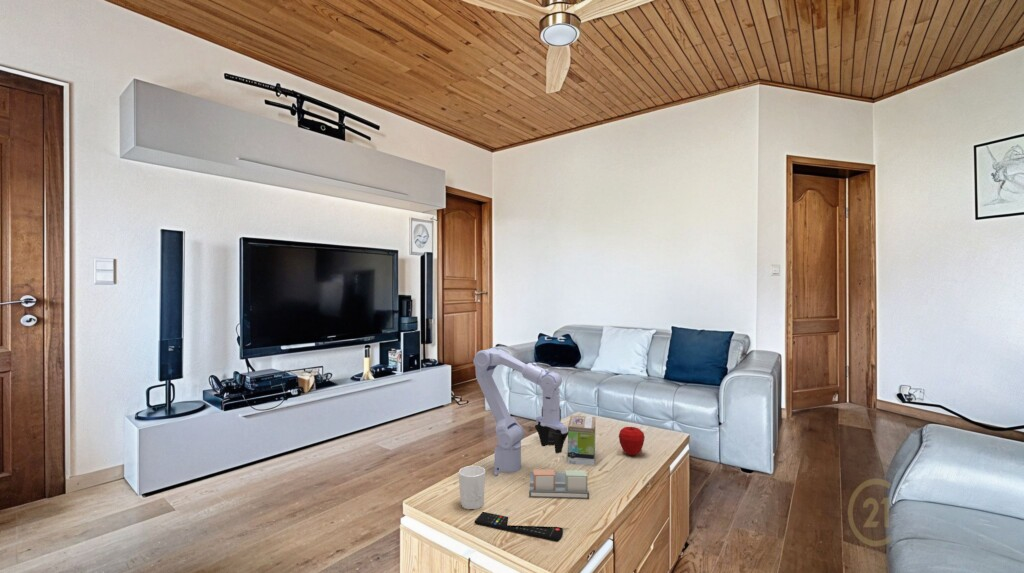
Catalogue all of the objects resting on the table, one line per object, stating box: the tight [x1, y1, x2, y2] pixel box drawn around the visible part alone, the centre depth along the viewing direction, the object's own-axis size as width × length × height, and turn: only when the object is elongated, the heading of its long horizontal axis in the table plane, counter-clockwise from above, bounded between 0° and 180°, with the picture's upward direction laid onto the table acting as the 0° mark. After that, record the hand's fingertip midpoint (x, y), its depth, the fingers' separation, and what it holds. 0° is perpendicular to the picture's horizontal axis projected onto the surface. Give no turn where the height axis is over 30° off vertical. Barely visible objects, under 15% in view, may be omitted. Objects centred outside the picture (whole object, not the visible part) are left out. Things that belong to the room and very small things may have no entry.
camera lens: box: [541, 405, 562, 446], centre depth 182 cm, size 8×8×15 cm
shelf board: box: [528, 471, 590, 500], centre depth 140 cm, size 18×18×3 cm
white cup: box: [458, 465, 486, 510], centre depth 130 cm, size 8×8×10 cm
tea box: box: [566, 415, 596, 466], centre depth 164 cm, size 15×10×15 cm, turn 168°
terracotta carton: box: [532, 468, 556, 491], centre depth 136 cm, size 6×4×6 cm, turn 90°
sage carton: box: [564, 469, 588, 492], centre depth 135 cm, size 6×4×6 cm, turn 86°
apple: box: [618, 426, 646, 457], centre depth 169 cm, size 10×10×11 cm
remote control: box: [474, 511, 564, 542], centre depth 117 cm, size 5×24×1 cm, turn 69°
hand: (551, 449), depth 146 cm, fingers open, 7 cm apart
